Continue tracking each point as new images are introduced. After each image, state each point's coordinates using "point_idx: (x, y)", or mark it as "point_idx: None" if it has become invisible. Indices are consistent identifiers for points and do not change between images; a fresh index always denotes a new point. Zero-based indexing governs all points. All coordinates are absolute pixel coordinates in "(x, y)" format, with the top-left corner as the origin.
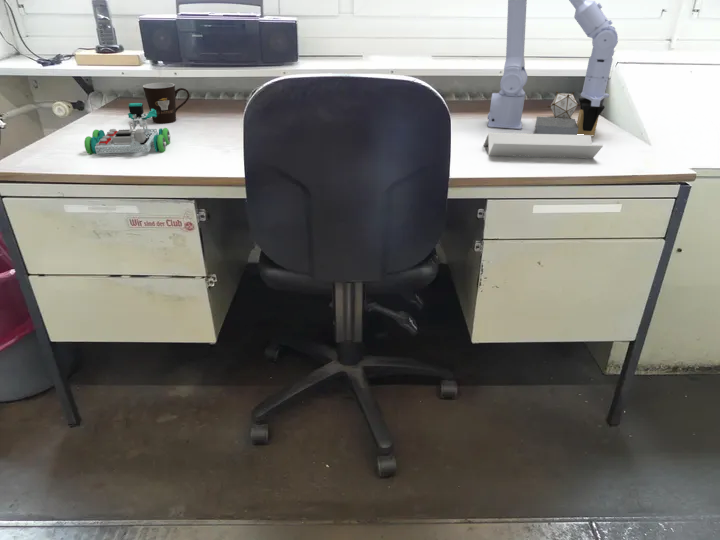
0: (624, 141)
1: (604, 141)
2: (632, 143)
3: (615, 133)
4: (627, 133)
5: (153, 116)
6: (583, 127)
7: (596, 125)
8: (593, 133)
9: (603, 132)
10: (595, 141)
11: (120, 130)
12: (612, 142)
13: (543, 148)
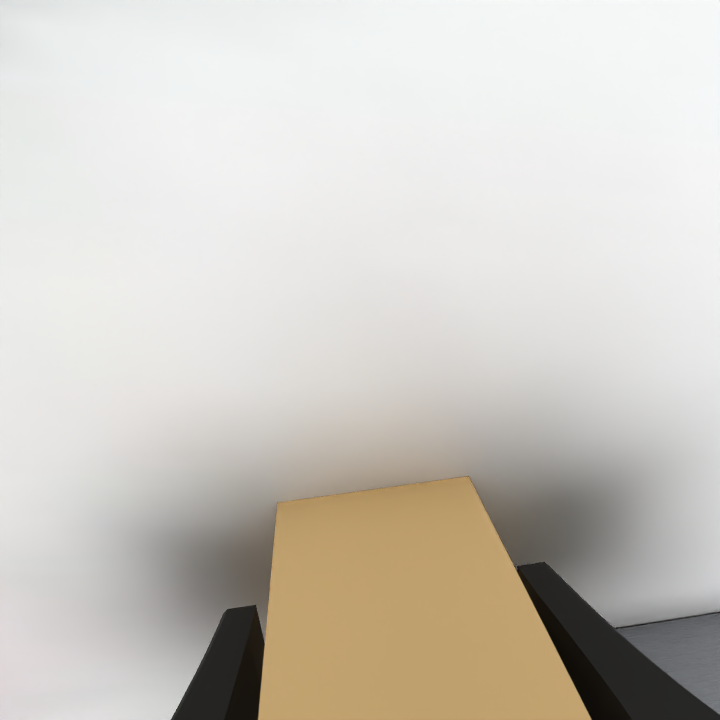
0: (623, 124)
1: (666, 371)
2: (713, 7)
3: (199, 227)
4: (94, 23)
5: None
6: None
7: (516, 571)
8: (476, 507)
9: (222, 383)
10: (680, 456)
11: None
12: (696, 285)
13: None
